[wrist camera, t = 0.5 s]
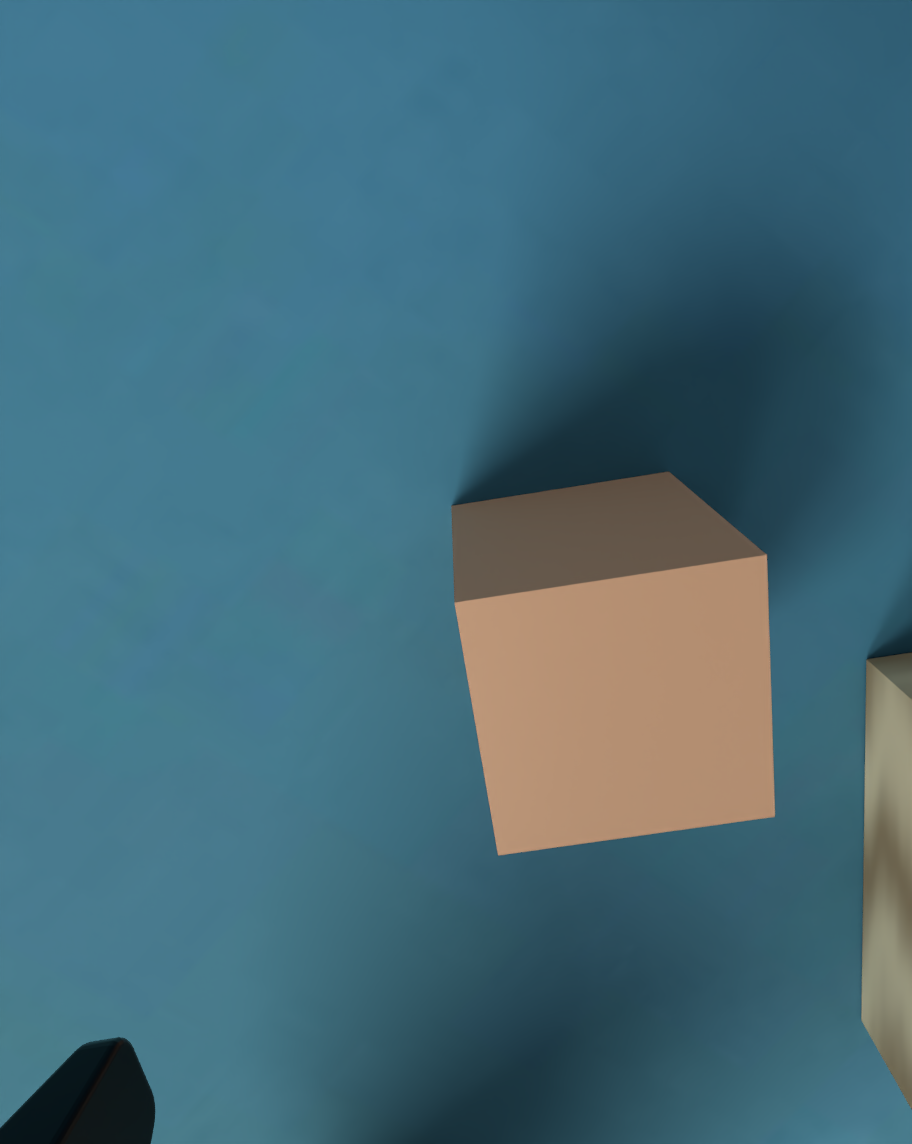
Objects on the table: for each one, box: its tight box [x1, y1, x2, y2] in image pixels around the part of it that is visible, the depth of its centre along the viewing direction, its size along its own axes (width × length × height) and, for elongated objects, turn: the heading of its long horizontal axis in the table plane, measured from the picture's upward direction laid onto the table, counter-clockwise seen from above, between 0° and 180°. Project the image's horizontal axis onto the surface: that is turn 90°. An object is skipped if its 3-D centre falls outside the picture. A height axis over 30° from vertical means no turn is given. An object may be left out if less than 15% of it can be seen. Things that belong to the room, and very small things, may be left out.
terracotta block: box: [451, 472, 775, 855], centre depth 17 cm, size 5×5×6 cm
